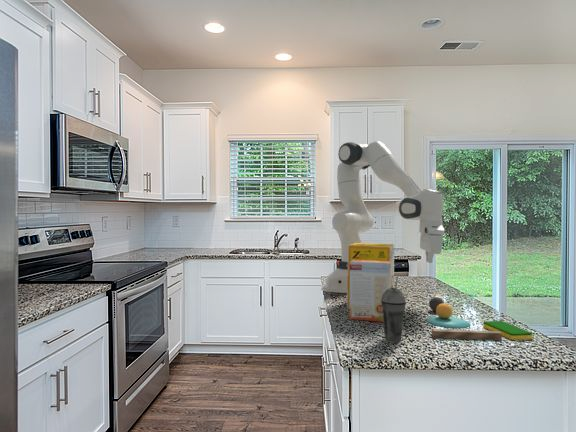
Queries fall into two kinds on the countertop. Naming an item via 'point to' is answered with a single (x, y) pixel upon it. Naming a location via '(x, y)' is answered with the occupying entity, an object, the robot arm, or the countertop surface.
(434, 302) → the dark gray ball
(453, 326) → the teal mark
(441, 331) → the brown wooden bar
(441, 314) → the orange ball
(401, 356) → the countertop surface
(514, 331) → the dish sponge
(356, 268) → the cracker box
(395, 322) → the beverage cup
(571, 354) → the countertop surface
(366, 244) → the packaging box
